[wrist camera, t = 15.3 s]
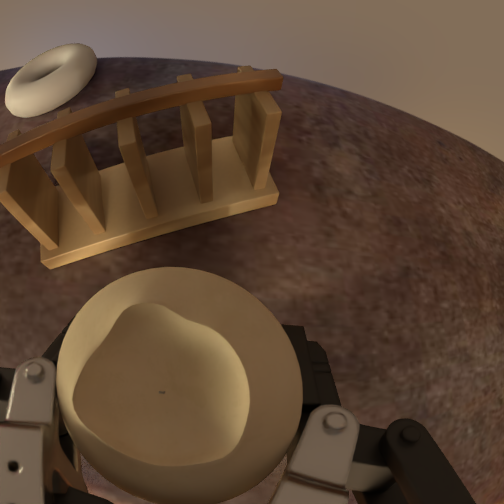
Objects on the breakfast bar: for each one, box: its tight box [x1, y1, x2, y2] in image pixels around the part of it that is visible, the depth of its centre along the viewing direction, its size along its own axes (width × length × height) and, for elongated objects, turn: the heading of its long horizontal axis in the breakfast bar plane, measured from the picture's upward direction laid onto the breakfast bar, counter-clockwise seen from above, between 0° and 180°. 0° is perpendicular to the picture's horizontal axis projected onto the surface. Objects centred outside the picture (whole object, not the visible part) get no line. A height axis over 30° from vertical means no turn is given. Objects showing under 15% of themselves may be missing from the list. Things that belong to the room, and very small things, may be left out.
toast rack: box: [0, 66, 283, 269], centre depth 14 cm, size 14×5×8 cm, turn 110°
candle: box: [56, 267, 303, 504], centre depth 9 cm, size 6×6×10 cm
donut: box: [5, 44, 97, 118], centre depth 20 cm, size 10×3×10 cm
